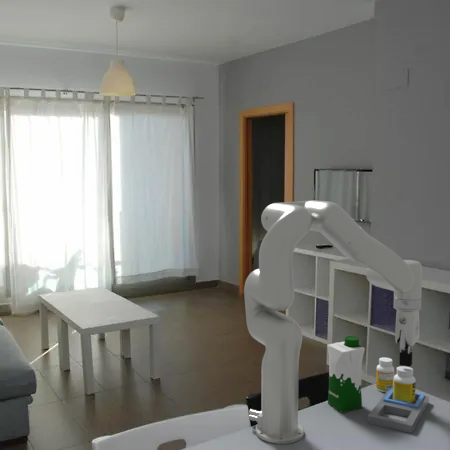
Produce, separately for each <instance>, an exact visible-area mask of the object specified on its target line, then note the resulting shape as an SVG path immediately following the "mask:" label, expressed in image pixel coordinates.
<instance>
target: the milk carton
mask: <svg viewBox="0 0 450 450" xmlns="http://www.w3.org/2000/svg"><path fill="white" fill-rule="evenodd" d="M327 351H328V358H329V363H328V365H329V366H328V367H329V370H328V373H329V374H328V375H329V376H328V394H327V395H328V397H327V404H328V405H330V406H332V407H333V408H334V409H335V410H338V411H339V412H340V413H346V412H350V410H351V411H354V410H355V409H356V410H359V408H360V409H362V408H363V403H362V402H363V400H362V378H363V377H362V375H363V374H362V371H363V370H362V369H363V367H362V366H363V358H364V354H365V351H366V348H365V347H363V346H361V345H360V338H359V337H357V336H354V335H353V336H351V335H349V336H345V337H344V341H340V342H333V343H330V344H327Z"/></svg>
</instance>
